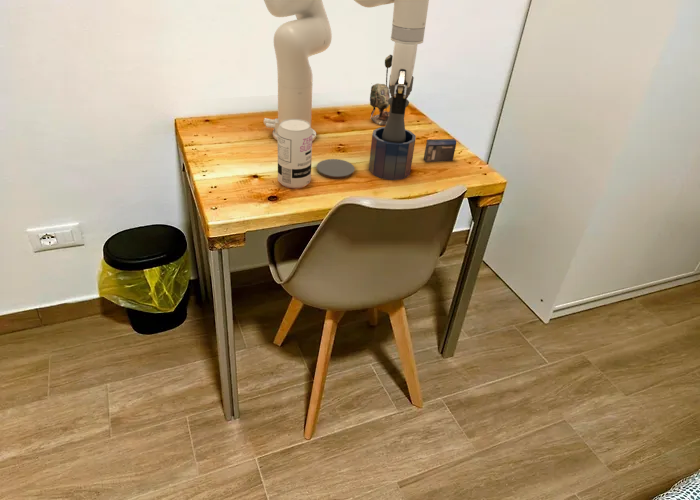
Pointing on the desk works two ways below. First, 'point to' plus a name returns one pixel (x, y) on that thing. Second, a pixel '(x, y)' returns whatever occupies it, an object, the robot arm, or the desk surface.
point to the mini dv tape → (439, 150)
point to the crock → (391, 156)
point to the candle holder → (396, 119)
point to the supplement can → (294, 153)
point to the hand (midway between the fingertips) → (398, 106)
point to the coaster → (335, 169)
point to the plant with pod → (381, 97)
